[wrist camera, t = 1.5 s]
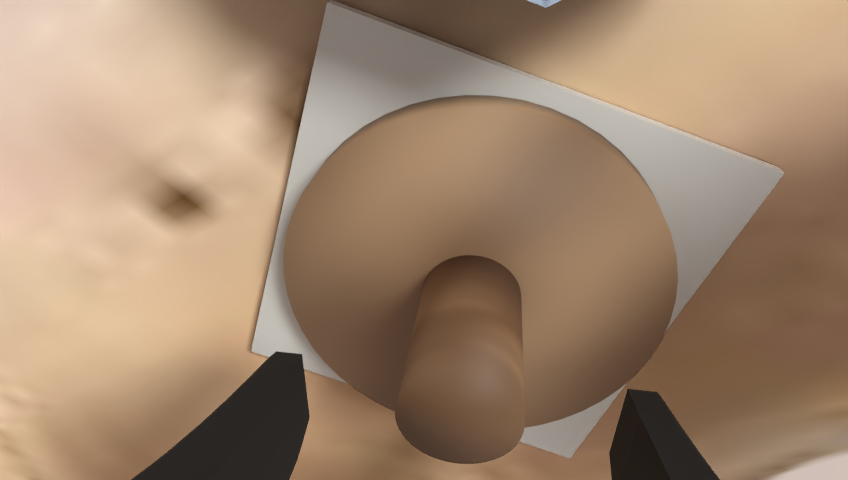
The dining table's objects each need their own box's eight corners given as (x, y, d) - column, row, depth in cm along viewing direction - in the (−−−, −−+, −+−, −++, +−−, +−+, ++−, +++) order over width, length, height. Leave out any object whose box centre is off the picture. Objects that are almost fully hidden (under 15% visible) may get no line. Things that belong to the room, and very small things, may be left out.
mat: (778, 166, 14) (784, 173, 14) (569, 449, 21) (570, 458, 20) (331, -1, 14) (326, 2, 13) (255, 343, 20) (250, 351, 20)
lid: (753, 182, 14) (872, 319, 10) (563, 444, 20) (580, 610, 15) (340, 31, 14) (252, 98, 9) (267, 346, 19) (190, 486, 15)
